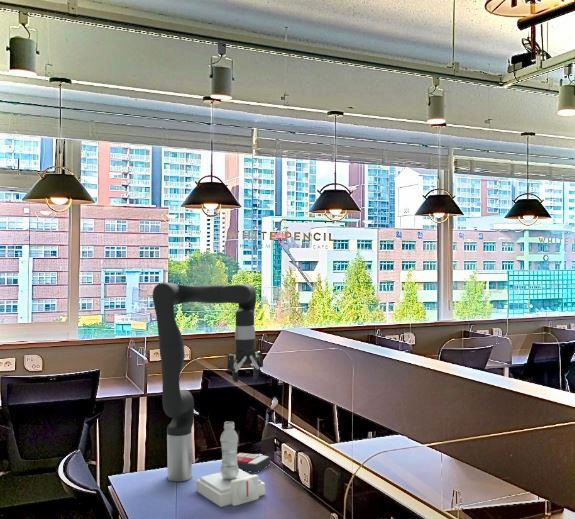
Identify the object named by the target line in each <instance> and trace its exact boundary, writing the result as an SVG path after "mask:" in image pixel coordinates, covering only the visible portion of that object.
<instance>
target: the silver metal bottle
mask: <svg viewBox="0 0 575 519" xmlns="http://www.w3.org/2000/svg"><path fill="white" fill-rule="evenodd" d="M223 429H224V430H223V432H221V435H220V438H219V439H220V446H221V453H222V454H221V467H220V472H221V476H222V478H223V479H226V480H232V479H235V478H237V476H238V474H239V468H238V463H237V454H238V444H239V443H238V442H239V435H238V434H237V431H236V430H235V422H234V421H225V422H223Z"/></svg>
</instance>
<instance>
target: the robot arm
mask: <svg viewBox="0 0 575 519" xmlns="http://www.w3.org/2000/svg"><path fill="white" fill-rule="evenodd" d="M152 301H153V305H154V306H153V307H154V311H155V316H156V323H157V332H158V333H157V334H158V344H159V358H160V364H161V379H162V397H161V398H162V401H161V402H162V407H163V411H164V413H165V415H166V416H168V417H169V418H172V419H171V421H170V422H169V424H168V425H167V427H166V435H167V436H166V441H167V442H166V443H167V444H166V445H167V446H166V448H167V451H166V452H167V454H166V456H167V459H166V460H167V464H166V465H167V480H168V481H170V482H185V481H188V480H190V479H192V478H193V472H192V471H193V467H192V466H193V463H192V462H193V459H192V458H193V457H192V456H193V453H192V451H193V449H192V446H193V444H192V441H193V440H192V430H193V429H192V427H193V426H194V419H195V418H194V417H195V416H194V414H195V401H194V396H193V395H192V393H191V392H190V391H189V390H187V389H180V378H181V377H180V376H181V372H182V368H183V365H184V360H185V345H184V338H183V335H182V332H181V330H180V328H179V326H178V324H177V321H176V316H175V305H180V304H184V303H202V304H203V303H205V304H227V303H228V304H238V308H237V311H235V331H234V347H235V348H234V349H235V354H227V368H226V370H227V371H230V372H231V373H232V381H233V383H238V382H239V372H238V371H239V370H240V368H241V367H242V366H246V365H251V367H252V379H253V380H258V378H259V376H260V375H259V374H260V372H259V369H260V368H264V357H263V352H262V351H259V350H257V351H256V328H255V309H256V301H257V292H256V289H255V287H254V286H253V285H251V284H249V283H244V284H233V285H232V284H230V285H228V284H207V285H206V284H205V285H184V284H178V283H174V282H160V283H158V284H156V285H155V287H154V288H153V291H152ZM255 358H256V360H255ZM235 360H236V361H235Z"/></svg>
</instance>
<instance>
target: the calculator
mask: <svg viewBox="0 0 575 519" xmlns="http://www.w3.org/2000/svg"><path fill="white" fill-rule="evenodd" d="M237 463H238V468H239V469H241V470H244V471H245V472H247V471H251V472H258V471H260V470H262V469H264V468H265V467H266V466H268V465H269V464H270V465H271V456H267V455H260V454H253V453H244V452H239V453H237ZM265 469H266V468H265ZM265 469H264V470H265ZM262 471H263V470H262ZM251 472H250V473H251ZM260 472H261V471H260Z"/></svg>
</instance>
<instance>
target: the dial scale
mask: <svg viewBox="0 0 575 519" xmlns="http://www.w3.org/2000/svg"><path fill="white" fill-rule="evenodd" d="M259 478H260V477H259V475H258V474H257V473H254V474H250V473H249V472H247V471H243V470H241V469H239V474H238V476H237V478H235V479H232V480H226V479H223V478H222V476H221V471H219V472H216V473H212V474H207V475H203V476H200V477H199V478H198V479H196V482H195V483H196V485H195V488H196V489H195V490H196V492H197V493H198V494H200V495H202V496H204V497H205V498H206V499H208V500H209V501H211V502H212V503H214V504H215V505H217V506H219V507H226V506H230V505H231V506H234V507H235V506H238V505H242V504H246V503H249V502H253V501H256V500H260V499H259V498H260V497H261V496H265V495H266V483H265V482H263V481H262V480H261V479H259Z"/></svg>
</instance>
